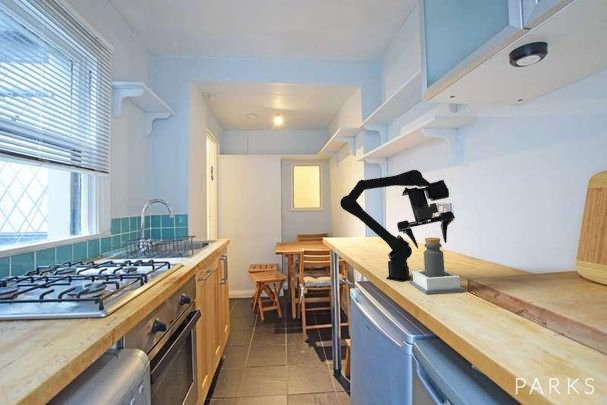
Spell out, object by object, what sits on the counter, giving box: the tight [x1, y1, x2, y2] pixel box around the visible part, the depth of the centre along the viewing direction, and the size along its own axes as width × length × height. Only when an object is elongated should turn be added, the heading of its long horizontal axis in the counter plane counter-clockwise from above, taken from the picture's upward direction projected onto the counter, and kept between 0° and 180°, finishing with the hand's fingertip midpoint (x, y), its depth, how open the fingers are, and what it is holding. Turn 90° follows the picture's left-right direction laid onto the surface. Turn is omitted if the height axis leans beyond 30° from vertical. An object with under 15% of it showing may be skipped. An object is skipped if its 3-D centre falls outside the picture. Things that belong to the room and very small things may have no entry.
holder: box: [409, 269, 466, 295], centre depth 93 cm, size 12×12×4 cm
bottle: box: [423, 237, 445, 278], centre depth 93 cm, size 6×6×15 cm
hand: (431, 245), depth 99 cm, fingers open, 9 cm apart
